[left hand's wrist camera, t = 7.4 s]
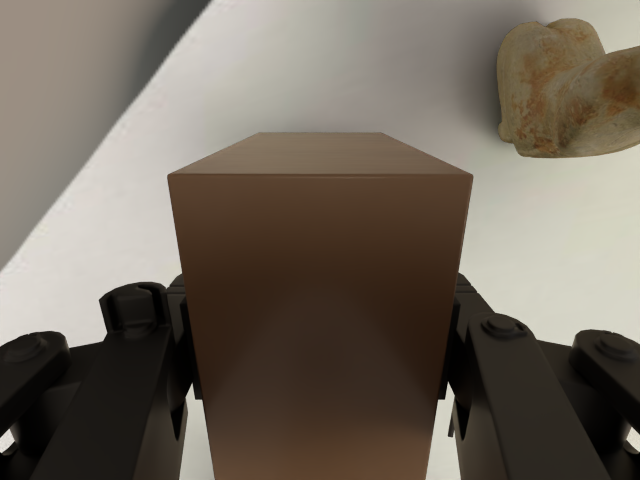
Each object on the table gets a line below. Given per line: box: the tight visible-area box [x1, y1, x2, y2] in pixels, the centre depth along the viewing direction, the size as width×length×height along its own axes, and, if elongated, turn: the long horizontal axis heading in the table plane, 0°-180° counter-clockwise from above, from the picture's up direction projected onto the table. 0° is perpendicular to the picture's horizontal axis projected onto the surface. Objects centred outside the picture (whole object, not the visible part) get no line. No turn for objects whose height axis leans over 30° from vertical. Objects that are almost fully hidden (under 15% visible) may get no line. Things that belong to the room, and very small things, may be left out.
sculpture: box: [497, 18, 640, 158], centre depth 15 cm, size 6×7×15 cm
